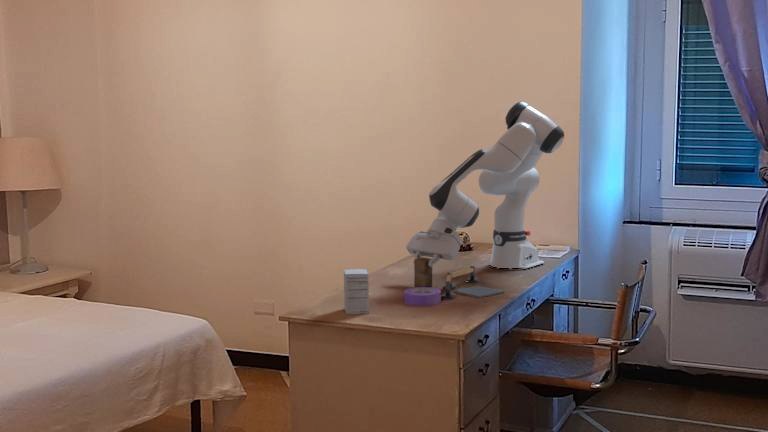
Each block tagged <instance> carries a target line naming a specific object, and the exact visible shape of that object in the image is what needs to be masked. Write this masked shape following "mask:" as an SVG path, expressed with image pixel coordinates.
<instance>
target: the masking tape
mask: <svg viewBox="0 0 768 432" xmlns="http://www.w3.org/2000/svg"><path fill="white" fill-rule="evenodd" d="M403 293H404V303H405V304H406V305H410V306H415V307H416V306H418V307H428V306H435V305H439V304H440V303H441V302H442V301H441V300H442V299H441V295H442V294H441V293H442V292H441V290H440V289H439V288H436V287H415V286H414V287H409V288H406V289H405V290H404V292H403Z"/></svg>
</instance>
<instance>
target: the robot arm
mask: <svg viewBox="0 0 768 432" xmlns="http://www.w3.org/2000/svg"><path fill="white" fill-rule="evenodd" d="M505 124H506V129H507V130H506V131H505V133H503V134H502V135H501V137H500V138H498V140H497V141H496V142H495V144H494V145H492V146H490V147H489V148H486V149H483V148H480V149H479V150H477V151H475V152H474V153H472V155H469V157H467V159H466V160H464V161H463V162H462V163H461V164H459V165H458V166H457V168H455V169H454V170H453V171H452V172H451V173H450V174H448V175H447V176H446V177H445V178H444V179H442V180H441V181H440V182H438V183H437V184H435V186H434V187H432V189H431V191H430V192H429V195H428V196H429V197H428V198H429V202H430V205H431V207H433V208H434V209H436V210H437V211H438V213H437V216H436V217H435V218H434V220H432V222H431V224H430V226H429V227H428V230H427V231H424V230H422V231H420V230H419V232H416V233H415V234H414V235H413V236H412V237H411V239H410V240H409V241H408V243H407V244H406V250H407V252H408V253H409V254H410V255H414V256H415V257H414V259H417V258H422V257H426V258H430V259H431V260H430V261H429V260H428V262H427V263H426V265H427V266H428V267H432V268H433V266H434V265H435V264H436V263H437V262H439V261H440V259H441V260H446V261H447V260H448V261H452V260H454V259H456V256H457V254H458V253H459V251H460V248H461V245H463V243H464V242H463V239H462V237H461V236H460V235H459V233H458V232H457V229H458V228H459V229H462V228H469V227H472V226H473V225H474V223H475V222H476V221H477V219H478V217H479V215H480V208H479V204H477V203H476V202H475V201H474V200H473V199H471V198H470V197H468V196H467V195H465V194H464V193H463V192H462V191H460V190H459V189H458V187H457V186H458V185H459V184H460V183H461V182H462V181H463V180H465V179H466V178H467V177H468V176H469V175H470V174H472V173H473V172H474V171H478V170H482V171H481V172H480V174H479V177H478V185H479V188H480V190H481V192H482V193H483V194H486V195H490V196H504V199H503V201H502V202H501V204H499V205H498V206H497V207H495V210H494V223H493V224H494V230H493V231H492V232H493V233H492V239H493V243H492V251H491V257H490V259H491V260H489V266H490V265H491V266H493V267H497V268H496V269H499V268H529V267H533V266H536V265H539V264H541V263H544V262H545V261H544V260H541V259H539V257H540V256H539V250H538V248H537V247H536V246H534V245H533V244H532V243H531V242H530V241H529V240H528V239H527V236H528V237H530V236H531V230H524V217H525V209H526V205H527V203H528V200H529V198H530V196H531V195H532V194H533V192H534V191H536V190H537V189H538V187H539V184H540V181H541V180H540V174H539V171H538V170H537V168H535V166H536V165H537V163H538V162H539V160H540V159H541V157H542V155H543V154H552V153H554V152H555V151H557V150H558V149H559V148H560V147H561V145H562V144H563V142H564V139H565V133H564V132H565V131H564V130H563V129H562V128H561V127H560V125H557V124H556V123H555V122H554V121H553V120H552V119H550V117H548V116H547V115H546V114H543V113H542V112H540V111H539V110H537V109H536V108H534V107H532V106H531V105H530V104H529V103H527V102H524V101H517V102H516V103H514V105H512V106H511V107H509V109H508V111H507V113H506V116H505ZM491 266H490V267H491ZM493 267H492V268H493ZM533 268H534V267H533Z"/></svg>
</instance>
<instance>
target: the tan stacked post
mask: <svg viewBox="0 0 768 432" xmlns="http://www.w3.org/2000/svg"><path fill="white" fill-rule="evenodd" d="M431 259H432V258H431V257H425V256H422V257H421V258H417V259H415V258H414V260H413V266H414V269H413V270H414V276H413V277H414V288H415V287H431V288H433V266H432V267H428V266H427V265H426V263H427V262H428V260H429V261H430V260H431Z"/></svg>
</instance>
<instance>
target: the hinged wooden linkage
mask: <svg viewBox="0 0 768 432" xmlns="http://www.w3.org/2000/svg"><path fill="white" fill-rule="evenodd" d="M475 270H476V267H475V265H470V266H469V267H466V268H463V269H460V270H455V271H453V272H452V271H451V272H446V280H445V284H444V285H443V286H442V290H445V293H443V294H441V300H454V299H455V298H456V293H451V291H455V290H456V289H457V285H456V284H453V278H455V277H459V276H463V275H466V274H469V277H468V278H466V279H465V282H466V281H468V282H467V283H470V282H476V283H478V282H479V281H478V280H479V277H475V273H476V272H475ZM477 281H478V282H477Z"/></svg>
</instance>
